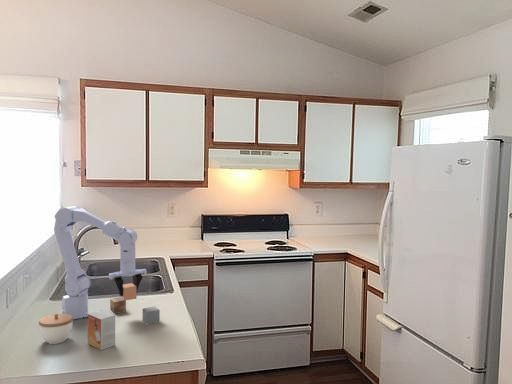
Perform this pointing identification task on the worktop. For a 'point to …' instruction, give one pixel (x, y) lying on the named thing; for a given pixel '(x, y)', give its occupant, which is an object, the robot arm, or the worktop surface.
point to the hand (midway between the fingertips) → (128, 294)
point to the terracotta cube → (129, 292)
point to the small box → (101, 329)
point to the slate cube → (151, 315)
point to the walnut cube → (117, 305)
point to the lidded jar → (56, 327)
